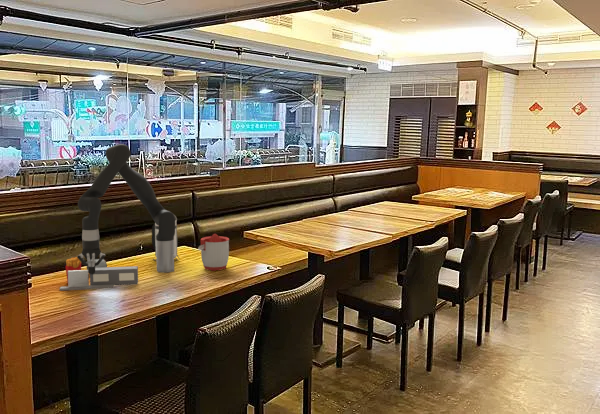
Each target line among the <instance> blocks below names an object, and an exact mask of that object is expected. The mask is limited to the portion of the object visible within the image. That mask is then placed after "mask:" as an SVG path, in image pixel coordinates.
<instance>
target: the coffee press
mask: <svg viewBox="0 0 600 414" xmlns="http://www.w3.org/2000/svg"><path fill="white" fill-rule="evenodd" d="M174 216H175V235H174V260H176V261H179V260H178V259H180V257H179V255H178V224H177V221H178V218H177V216H176V215H175V214H174ZM151 226H152V227H151V245H152V248H153V249H154V250H155V251H154V252H155V255H154V257H153V261H155V258H156V235H157V234H158V232H159V226H158V225H157V224H156V223H155V222H154V223H153V225H151Z"/></svg>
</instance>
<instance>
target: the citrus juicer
mask: <svg viewBox="0 0 600 414" xmlns="http://www.w3.org/2000/svg"><path fill="white" fill-rule="evenodd" d="M229 243H230V238H229V237H227V236H220V235H218V234H217V233H212V235H210V236H209V235H208V236H203V237H202V238H200V245H199V246H198V247H197V249H198V251H200V252H201V253H200V256H201V262H202V265H203V268H204V270H206V271H210V270H211V271H210V272H216V270H218V271H223V270H222V269H224V270H225V269H226V268H227V266H228V262H229V255H230V244H229Z"/></svg>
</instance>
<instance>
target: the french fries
mask: <svg viewBox="0 0 600 414" xmlns="http://www.w3.org/2000/svg"><path fill="white" fill-rule="evenodd" d="M65 263H66V265H65V273H66V280H67V283H68V271H72V270H82V262H81V261H80V260H79V259H78V258H77V256H75V257H70V258H66V260H65Z"/></svg>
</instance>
